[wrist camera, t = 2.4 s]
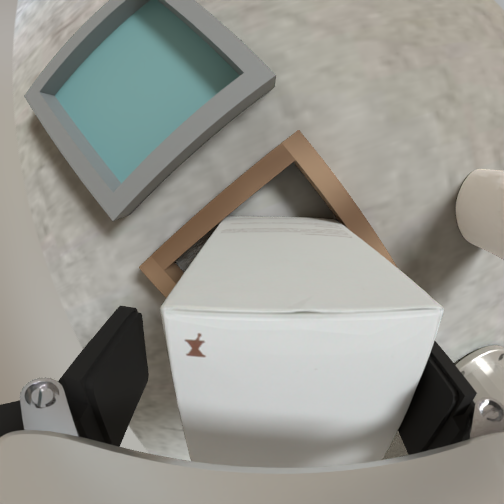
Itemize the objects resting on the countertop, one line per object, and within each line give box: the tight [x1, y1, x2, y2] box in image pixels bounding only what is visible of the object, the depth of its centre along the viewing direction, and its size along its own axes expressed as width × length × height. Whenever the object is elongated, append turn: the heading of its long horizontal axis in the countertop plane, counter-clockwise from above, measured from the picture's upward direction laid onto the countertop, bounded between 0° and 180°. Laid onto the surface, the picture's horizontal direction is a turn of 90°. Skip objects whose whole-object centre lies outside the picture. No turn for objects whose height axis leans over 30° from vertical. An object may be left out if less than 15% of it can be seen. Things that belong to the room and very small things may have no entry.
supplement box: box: [160, 216, 444, 468], centre depth 13 cm, size 7×7×13 cm
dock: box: [24, 0, 276, 221], centre depth 15 cm, size 12×12×2 cm
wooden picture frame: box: [139, 130, 397, 298], centre depth 19 cm, size 12×12×2 cm
